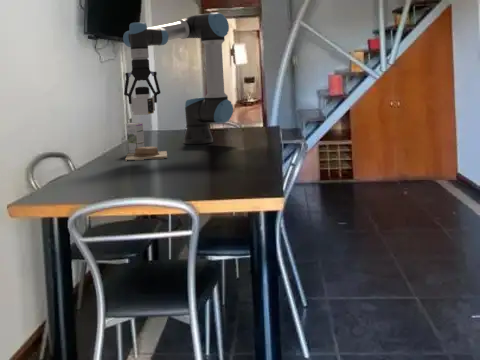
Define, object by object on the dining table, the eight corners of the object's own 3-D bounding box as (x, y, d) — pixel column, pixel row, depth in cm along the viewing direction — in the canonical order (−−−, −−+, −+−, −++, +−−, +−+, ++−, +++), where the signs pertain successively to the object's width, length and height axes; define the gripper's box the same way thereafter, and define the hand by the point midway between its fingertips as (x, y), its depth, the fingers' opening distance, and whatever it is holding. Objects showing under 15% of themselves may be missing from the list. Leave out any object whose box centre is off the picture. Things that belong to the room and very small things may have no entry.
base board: (127, 155, 285) (127, 146, 284) (166, 153, 287) (166, 144, 286) (125, 161, 267) (124, 151, 266) (167, 158, 269) (166, 149, 268)
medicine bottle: (148, 114, 269) (146, 86, 267) (133, 114, 270) (131, 87, 268) (154, 113, 276) (152, 86, 274) (139, 113, 277) (137, 86, 275)
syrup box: (145, 152, 291) (143, 122, 288) (137, 154, 286) (135, 123, 283) (135, 152, 294) (133, 122, 291) (128, 154, 289) (125, 123, 286)
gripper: (114, 59, 264) (118, 112, 268) (164, 57, 267) (167, 110, 271) (115, 60, 271) (119, 111, 275) (164, 58, 274) (167, 109, 278)
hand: (143, 110), depth 273 cm, fingers closed on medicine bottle, 8 cm apart
